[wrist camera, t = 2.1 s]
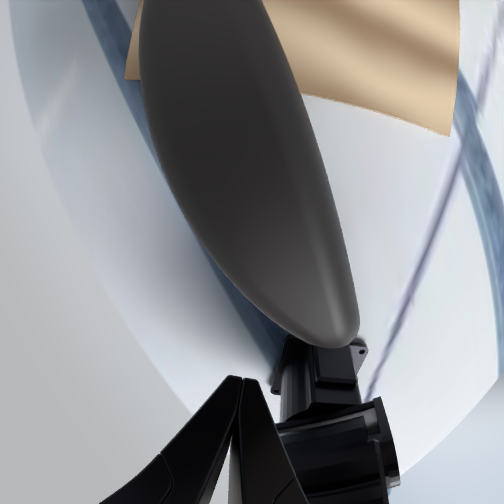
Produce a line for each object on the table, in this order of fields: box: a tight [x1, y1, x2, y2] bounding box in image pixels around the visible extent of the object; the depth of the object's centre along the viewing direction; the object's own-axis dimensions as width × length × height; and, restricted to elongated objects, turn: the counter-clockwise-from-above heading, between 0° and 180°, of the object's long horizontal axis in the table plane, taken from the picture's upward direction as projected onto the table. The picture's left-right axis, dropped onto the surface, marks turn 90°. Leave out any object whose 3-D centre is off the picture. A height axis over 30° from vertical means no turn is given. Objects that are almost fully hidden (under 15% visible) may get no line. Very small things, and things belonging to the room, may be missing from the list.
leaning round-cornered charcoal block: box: [138, 0, 360, 348], centre depth 12 cm, size 16×5×9 cm, turn 19°
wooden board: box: [124, 0, 460, 137], centre depth 12 cm, size 12×20×1 cm, turn 81°
